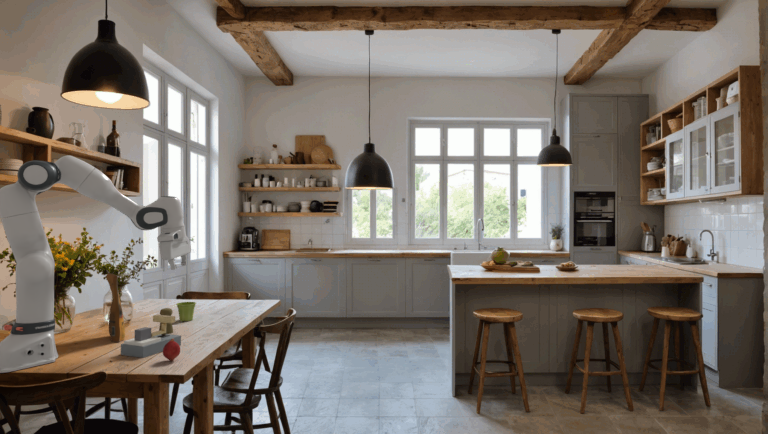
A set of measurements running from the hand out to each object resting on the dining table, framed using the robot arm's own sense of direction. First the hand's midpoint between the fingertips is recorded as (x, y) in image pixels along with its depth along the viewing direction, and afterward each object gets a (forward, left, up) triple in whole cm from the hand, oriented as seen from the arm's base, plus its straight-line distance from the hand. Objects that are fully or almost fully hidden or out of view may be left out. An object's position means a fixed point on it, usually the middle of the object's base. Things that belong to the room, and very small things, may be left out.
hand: (179, 267), depth 199 cm
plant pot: (+37, +29, -32) cm, 56 cm away
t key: (-10, +1, -27) cm, 28 cm away
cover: (-17, +1, -27) cm, 32 cm away
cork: (+12, +18, -32) cm, 38 cm away
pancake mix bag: (-4, +30, -32) cm, 43 cm away
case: (-13, +1, -31) cm, 34 cm away
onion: (-21, -17, -32) cm, 42 cm away
